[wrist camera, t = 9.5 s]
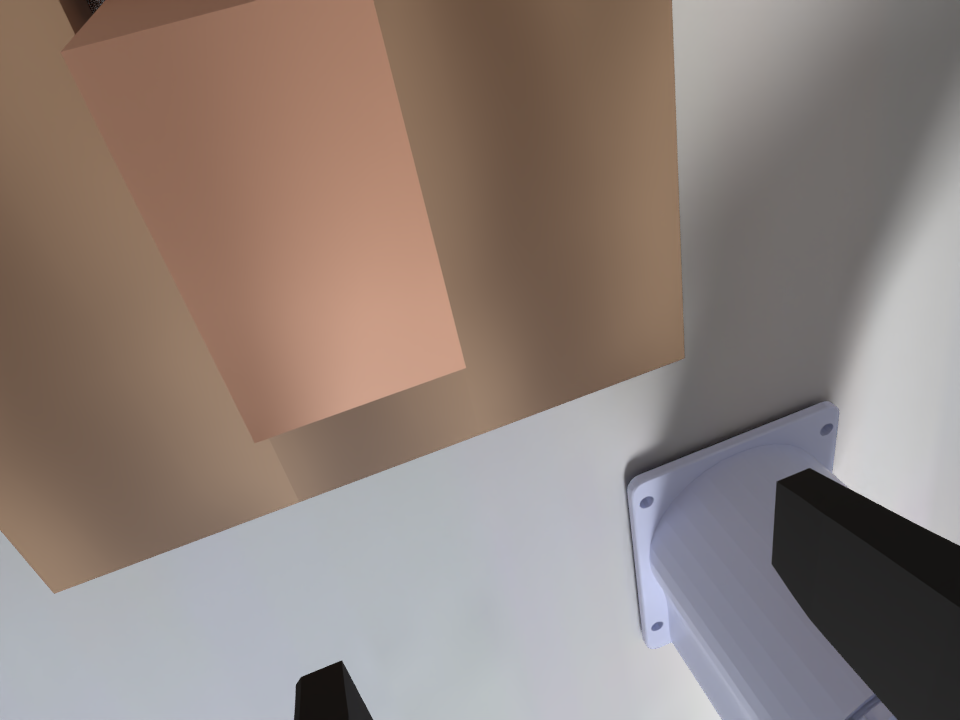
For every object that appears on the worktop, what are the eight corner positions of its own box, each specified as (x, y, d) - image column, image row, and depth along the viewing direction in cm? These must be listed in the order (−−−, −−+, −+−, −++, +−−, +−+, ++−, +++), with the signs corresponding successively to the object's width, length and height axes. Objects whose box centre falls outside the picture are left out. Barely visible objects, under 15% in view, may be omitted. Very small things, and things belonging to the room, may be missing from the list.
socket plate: (572, -511, 12) (649, -594, 10) (637, 314, 21) (684, 358, 19) (-568, -326, 9) (-775, -387, 7) (68, 518, 19) (53, 593, 17)
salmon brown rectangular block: (285, -63, 14) (365, -29, 7) (360, 186, 17) (466, 367, 10) (124, -22, 13) (60, 51, 7) (230, 226, 16) (255, 443, 10)
